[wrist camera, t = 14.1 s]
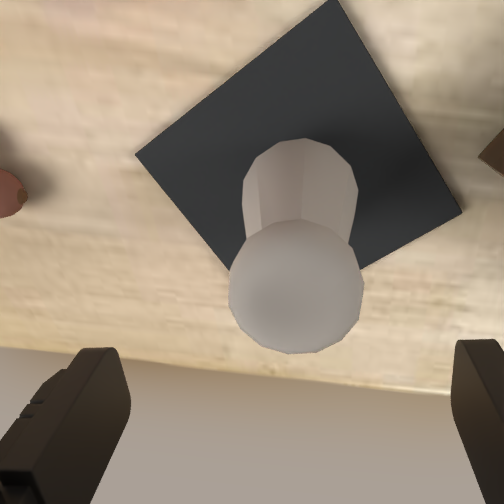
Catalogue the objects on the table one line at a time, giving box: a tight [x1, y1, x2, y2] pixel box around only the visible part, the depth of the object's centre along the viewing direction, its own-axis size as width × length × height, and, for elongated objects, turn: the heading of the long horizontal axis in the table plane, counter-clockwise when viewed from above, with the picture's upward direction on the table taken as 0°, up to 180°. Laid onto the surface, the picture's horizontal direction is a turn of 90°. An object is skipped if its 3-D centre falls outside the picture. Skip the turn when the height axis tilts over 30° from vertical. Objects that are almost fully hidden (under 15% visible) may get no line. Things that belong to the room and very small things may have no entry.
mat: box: [135, 0, 462, 271], centre depth 25 cm, size 13×13×1 cm
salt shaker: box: [228, 138, 364, 354], centre depth 19 cm, size 6×6×13 cm
